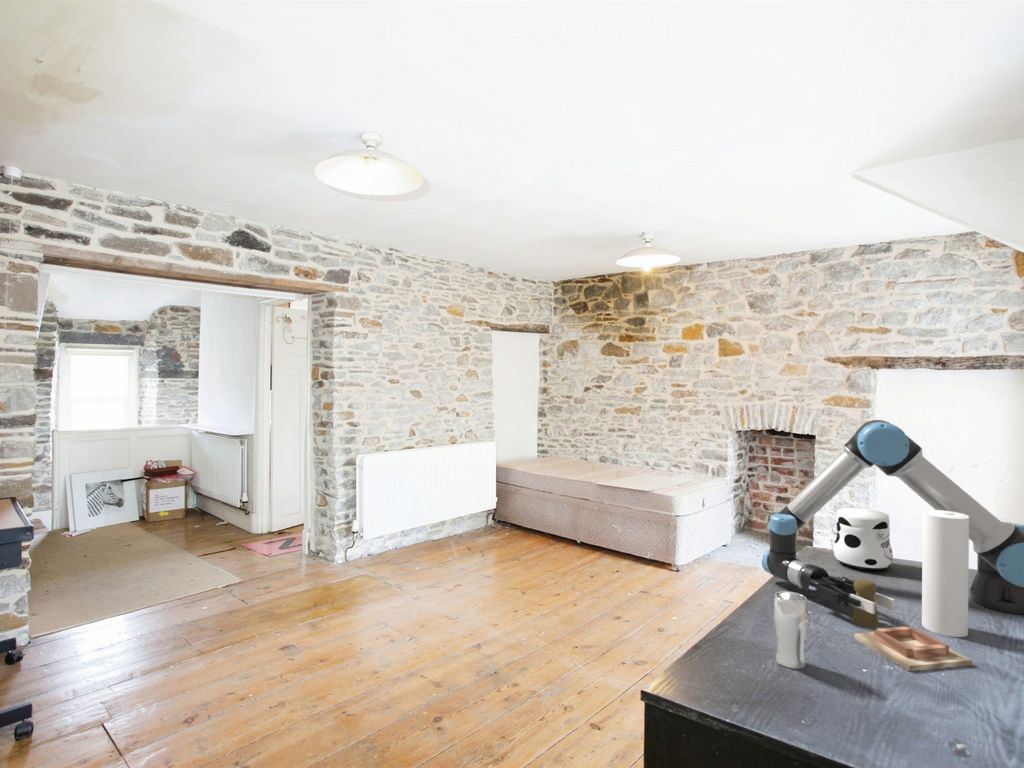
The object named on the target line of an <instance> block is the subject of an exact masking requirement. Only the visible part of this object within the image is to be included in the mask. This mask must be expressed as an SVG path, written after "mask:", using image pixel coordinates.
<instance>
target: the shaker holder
mask: <svg viewBox="0 0 1024 768" xmlns="http://www.w3.org/2000/svg"><path fill="white" fill-rule="evenodd" d="M853 639H854V640H856V641H858V642H859V643H861V644H862V645H864V646H866V647H868V648H869V649H870V650H873V651H874V652H876V653H878V655H880V656H882V657H884V658H885V659H888V660H889V659H890V660H889V661H891V660H892V661H891V662H893V661H894V662H895V664H896V663H897V665H898V664H899V665H901V666H902V667H901V666H900V667H901V668H903V667H904V668H906V669H907V670H906V669H905V670H906V671H908V670H909V671H910V672H916V671H915V670H920V671H928V670H929V671H930V670H938V669H939V670H940V669H947V668H946V667H951V668H959V667H968V666H969V667H970V666H972V665H973V660H972V659H971V658H969V657H967V656H965V655H963V654H961V653H959V652H957V651H955V650H953V649H951V648H950V645H949V644H947V643H945V642H943V641H942V640H939V639H937V638H935V637H933V636H931V635H929V634H928V633H925V632H923V631H922V630H919V629H917V628H915V627H913V626H912V627H907V626H905V625H904V626H894V627H893V626H892V627H883V628H876V630H873V631H870V632H860V633H859V632H858V633H857V632H856V633H853ZM894 662H893V663H894ZM899 665H898V666H899ZM904 668H903V669H904ZM909 671H908V672H909Z"/></svg>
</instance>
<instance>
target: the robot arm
mask: <svg viewBox="0 0 1024 768" xmlns="http://www.w3.org/2000/svg"><path fill="white" fill-rule="evenodd" d="M873 466H876V467H877V468H878V470H880V471H882V472H883V473H884V474H885V475H886V476H888V477H896V478H898V479H899V480H901V482H903V483H904V484H905V485H906V486H907V487H908V488H910V489H911V490H912V491H913V492H914V493H915V494H916V495H918V496H919V497H920V498H921V499H922V500H923V501H925V502H926V503H927V504H928V505H929V506H930V507H931V508H933V510H945V511H952V512H958V513H962V514H965V515H968V516H969V541H971V542H972V546H973V547H972V548H973V551H974V552H975V554H977V560H976V561H977V569H976V570H977V571H976V574H975V577H974V579H973V581H972V583H971V585H970V588H969V599H971V601H972V602H974V603H976V604H978V605H980V606H983V607H986V608H989V609H992V610H996V611H1001V612H1005V613H1011V614H1018V615H1024V524H1020V523H1013V522H1008V521H1005V522H1004V521H1001V520H1000V519H998V518H997V517H996V516H995V515H994V514H992V513H991V512H990V511H989V510H988V509H987V508H985V507H984V506H983V505H982V504H981V503H979V502H978V501H977V500H976V499H974V498H973V497H972V496H971V495H970V494H969V493H968V492H966V491H965V490H964V489H963V488H962V487H961V486H959V485H958V484H957V483H955V482H954V481H953V480H952V479H951V478H949V477H948V476H947V475H946V474H945V473H944V472H942V471H941V470H940V469H938V468H937V467H936V466H935V465H934V464H933V463H931V462H930V461H929V460H928V459H926V458H925V457H924V455H923V448H922V447H921V446H920V445H919V444H918V443H916V442H915V440H913V439H912V438H910V437H909V436H908V435H907V434H906V432H904V431H903V430H902V429H901V428H900V427H898V426H897V425H895V424H894V423H890V422H889V421H887V420H886V421H885V420H882V419H874V420H868V421H866V422H864V423H863V424H862V425H860V427H859V428H858V429H857V430H856V431H855V433H854V434H853V435H852V436H851V438H849V440H848V441H847V442H846V443H844V445H843V451H842V452H841V453H839V454H838V456H836V458H834V459H833V460H832V461H831V462H830V463H829V464H828V465H827V466H826V467H825V468H824V469H823V470H822V471H820V473H819V474H818V475H817V476H816V477H815V478H813V480H812V481H811V482H809V483H808V484H807V486H806V487H804V488H803V489H802V490H801V491H800V492H799V493H798V494H797V495H796V496H795V497H794V498H793V499H792V500H791V501H790V502H789V503H787V504H786V505H785V507H784V508H783V509H781V510H780V511H778V512H776V513H775V514H772V515H771V516H770V517H769V525H768V526H769V549H768V550H766V551H765V552H764V553H763V556H762V558H761V566H762V569H763V571H765V572H766V573H768V574H770V575H772V576H773V577H775V578H777V579H780V580H783V581H786V582H788V583H791V584H792V585H795V586H798V588H799V589H805V590H806V591H807V592H808V591H809V592H810V593H813V594H817V595H818V596H821V597H822V598H825V599H826V600H829V601H831V602H834V603H836V604H838V605H841V604H843V607H849V605H851V606H853V607H854V606H855V607H857V608H860V609H862V610H864V611H867V612H869V613H872V614H875V604H876V605H878V606H880V607H883V608H885V609H888V610H890V611H894V610H895V599H894V598H891V597H888V596H886V595H884V594H881V593H878V592H876V593H875V594H874V597H875V603H874V602H871V601H869V600H866V599H864V598H861V597H859V596H856V591H855V589H854V581H855V580H852V579H850V578H848V577H846V576H842V577H841V579H840V578H837V577H835V576H832V575H829V573H828V571H827V570H826V569H824V568H823V567H821V566H818V565H815V564H813V563H810V562H807V561H805V560H802V559H799V558H797V544H798V543H797V539H798V538H797V537H798V536H797V535H798V531H799V530H800V529H801V528H802V527H803V526H804V525H805V524H806V523H807V522H808V521H809V520H810V519H812V517H813V516H815V515H816V514H817V513H818V512H819V511H820V510H821V509H822V508H823V507H824V506H826V504H828V503H829V502H830V501H831V500H833V498H834V497H835V496H836V495H837V494H839V492H840V491H842V490H843V489H844V488H845V487H846V486H848V484H849V483H850V482H852V481H853V480H854V478H856V477H857V476H858V475H859V474H860V473H861V472H862V471H863V470H864V469H867V468H868V469H869V468H872V467H873Z"/></svg>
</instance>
